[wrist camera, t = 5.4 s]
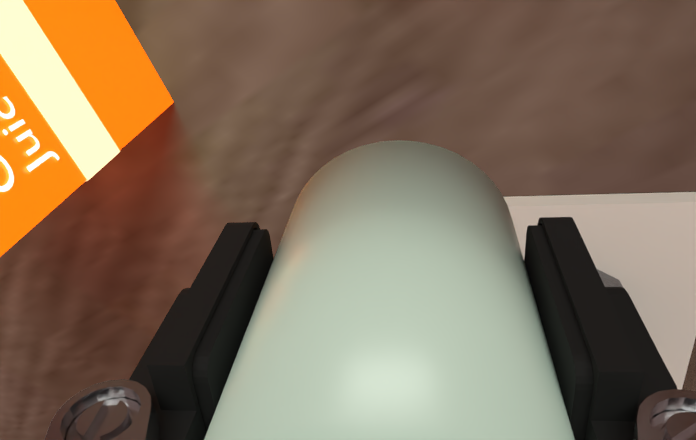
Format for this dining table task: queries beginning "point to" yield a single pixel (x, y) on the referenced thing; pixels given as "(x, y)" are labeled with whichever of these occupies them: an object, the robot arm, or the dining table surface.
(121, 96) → the orange juice
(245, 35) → the dining table surface
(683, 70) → the dining table surface
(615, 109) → the dining table surface
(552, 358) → the robot arm
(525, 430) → the egg
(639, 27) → the dining table surface
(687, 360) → the mounting board
